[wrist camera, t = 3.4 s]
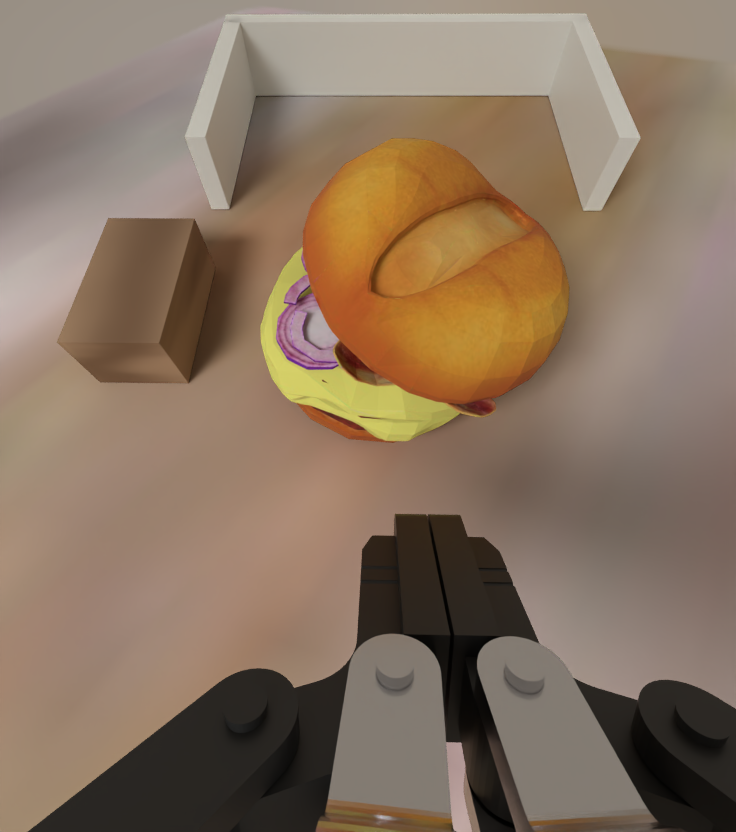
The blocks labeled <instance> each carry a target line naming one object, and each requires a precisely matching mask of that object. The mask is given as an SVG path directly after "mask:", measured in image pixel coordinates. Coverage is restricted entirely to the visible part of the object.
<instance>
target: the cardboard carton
mask: <svg viewBox="0 0 736 832" xmlns="http://www.w3.org/2000/svg"><path fill="white" fill-rule="evenodd" d="M214 272H215V266H214V263H213V261H212V259H211V256H210V254H209V252H208V249H207V247H206V245H205V242H204V240H203V238H202V235H201V233H200V231H199V228H198V226H197V224H196V221H195V219H150V218H108V220H107V223H106V225H105V227H104V230H103V232H102V235H101V237H100V240H99V242H98V244H97V247H96V249H95V252H94V254H93V256H92V259H91V261H90V264H89V266H88V269H87V271H86V273H85V276H84V278H83V281H82V283H81V286H80V288H79V290H78V293H77V295H76V298H75V300H74V302H73V305H72V307H71V310H70V312H69V315H68V317H67V319H66V322H65V324H64V327H63V329H62V331H61V334H60V336H59V339H58V341H57V343H58V344H59V345H60V346H62V347H63V348H64V349H65V350H66V351H67V352H68V353H69V354H70V355H71V356H72V357H74V358H75V359H76V360H77V361H78V362H79V363H80V364H81V365H82V366H83V367H84V368H85V369H87V370H88V371H89V372H90V373H91V374H92V375H93V376H94V377H95V378H96V379H97V380H98V381H100V382H130V383H189V378H190V374H191V370H192V366H193V361H194V357H195V353H196V349H197V344H198V340H199V336H200V332H201V327H202V323H203V319H204V315H205V310H206V306H207V302H208V298H209V293H210V289H211V285H212V281H213V276H214Z"/></svg>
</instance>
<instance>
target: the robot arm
mask: <svg viewBox="0 0 736 832" xmlns="http://www.w3.org/2000/svg"><path fill="white" fill-rule="evenodd" d="M446 742H461V743H462V748H463V754H464V760H465V765H466V767H465V776H464V797H465V802H466V806H467V811H468V815H469V820H470V824H471V828H472V832H736V709H735V708H733V707H732V706H730V705H728V704H727V703H725V702H723V701H722V700H720V699H719V698H717V697H715V696H713V695H712V694H710V693H708V692H706V691H704V690H702V689H700V688H698V687H695V686H692V685H689V684H687V683H683V682H679V681H673V680H658V681H653V682H651V683H649V684H647V685H646V686H645V687H644V688H643V689H642V690H641V692H640V695H639V698H638V700H635V699H632V698H628V697H625V696H622V695H618V694H615V693H612V692H608V691H605V690H602V689H598V688H595V687H592V686H590V685H587V684H585V683H583V682H580V681H578V680H576V679H575V678H573V677H572V675H571V673H570V672H569V670H568V668H567V667H566V665H565V664H564V663H563V662H562V661H561V659H560V658H559V657H558V656H556V655H555V654H554V653H553V652H552V651H550V650H549V649H547V648H546V647H544V646H542V645H541V644H539V641H538V639H537V637H536V635H535V632H534V630H533V628H532V625H531V623H530V621H529V618H528V616H527V614H526V612H525V609H524V607H523V605H522V602H521V600H520V598H519V596H518V593H517V591H516V589H515V586H513V582H512V579H511V577H510V575H509V573H508V572H507V568H506V566H505V563H504V561H503V559H502V556H501V554H500V552H499V551H498V550H497V549H496V548H495V547H494V546H493V545H492V544H491V543H490V542H488V541H487V540H486V539H485V538H484V537H468V536H467V533H466V531H465V528H464V525H463V522H462V519H461V516H460V515H432V514H428V516H426V515H425V514H395V518H394V536H372V537H371V538H370V539H369V541H368V542H367V544H366V545H365V546H364V548H363V549H362V565H361V583H360V599H359V616H358V634H357V644H356V648H355V651H354V653H353V655H352V656H351V658H350V660H349V661H348V662H347V663H346V665H344V666H343V667H342V668H341V669H340V670H339V671H337V672H336V673H335V674H333V675H331V676H329V677H327V678H326V679H323V680H320V681H317V682H314V683H310V684H307V685H303V686H300V687H296V688H294V687H293V686H292V684H291V682H290V681H289V680H288V679H287V678H286V677H284V676H283V675H281V674H280V673H278V672H275V671H273V670H268V669H260V668H257V669H248V670H244V671H240V672H238V673H235V674H233V675H231V676H229V677H227V678H225V679H224V680H222V681H221V682H219V683H218V684H216V685H215V686H214V687H213V688H211V689H210V690H209V691H208V692H206V693H205V694H204V695H202V696H201V697H200V698H199V699H197V700H196V701H195V702H193V703H192V704H191V705H190V706H188V707H187V708H186V709H184V710H183V711H182V712H181V713H179V714H178V715H177V716H176V717H174V718H173V719H172V720H170V721H169V722H168V723H167V724H165V725H164V726H163V727H161V728H160V729H159V730H158V731H156V732H155V733H154V734H152V735H151V736H150V737H149V738H147V739H146V740H145V741H143V742H142V743H141V744H140V745H138V746H137V747H136V748H135V749H133V750H132V751H131V752H129V753H128V754H127V755H126V756H124V757H123V758H122V759H120V760H119V761H118V762H117V763H115V764H114V765H113V766H111V767H110V768H109V769H108V770H106V771H105V772H104V773H102V774H101V775H100V776H99V777H97V778H96V779H95V780H94V781H92V782H91V783H90V784H88V785H87V786H86V787H85V788H83V789H82V790H81V791H79V792H78V793H77V794H76V795H74V796H73V797H72V798H70V799H69V800H68V801H67V802H65V803H64V804H63V805H61V806H60V807H59V808H58V809H56V810H55V811H54V812H53V813H51V814H50V815H49V816H47V817H46V818H45V819H44V820H42V821H41V822H40V823H38V824H37V825H36V826H35V827H33V828H32V829H31V830H29V831H28V832H456V831H454V830H453V825H452V817H451V805H450V791H449V777H448V763H447V749H446Z"/></svg>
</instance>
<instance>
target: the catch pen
mask: <svg viewBox="0 0 736 832" xmlns="http://www.w3.org/2000/svg"><path fill="white" fill-rule="evenodd" d="M256 96H549V100H550V103H551V106H552V110H553V113H554V116H555V119H556V123H557V126H558V129H559V133H560V136H561V139H562V143H563V146H564V149H565V152H566V156H567V159H568V162H569V166H570V169H571V172H572V175H573V179H574V182H575V185H576V189H577V192H578V195H579V198H580V202H581V205H582V208H583V211H601V210H602V208H603V206H604V204H605V203H606V201H607V199H608V197H609V195H610V193H611V192H612V190H613V188H614V186H615V184H616V182H617V181H618V179H619V177H620V175H621V173H622V171H623V169H624V168H625V166H626V164H627V162H628V160H629V158H630V157H631V155H632V153H633V151H634V149H635V147H636V146H637V144H638V142H639V140H640V138H641V137H640V135H639V133H638V131H637V128H636V126H635V124H634V122H633V119H632V117H631V115H630V112H629V110H628V108H627V106H626V103H625V101H624V99H623V97H622V94H621V92H620V90H619V87H618V85H617V83H616V81H615V78H614V76H613V74H612V72H611V69H610V67H609V65H608V62H607V60H606V58H605V56H604V53H603V51H602V49H601V47H600V44H599V42H598V40H597V38H596V35H595V33H594V31H593V29H592V26H591V24H590V22H589V19H588V17H587V15H586V14H226V17H225V20H224V23H223V26H222V29H221V32H220V35H219V38H218V40H217V43H216V46H215V49H214V52H213V55H212V58H211V61H210V64H209V67H208V70H207V73H206V76H205V79H204V82H203V85H202V87H201V90H200V93H199V96H198V99H197V102H196V105H195V108H194V111H193V114H192V117H191V120H190V123H189V126H188V129H187V131H186V134H185V140H186V142H187V145H188V148H189V150H190V153H191V156H192V158H193V161H194V164H195V166H196V169H197V171H198V174H199V177H200V179H201V182H202V185H203V187H204V190H205V193H206V195H207V198H208V201H209V203H210V206H211V209H229V208H230V204H231V200H232V195H233V191H234V187H235V183H236V178H237V174H238V170H239V166H240V161H241V157H242V153H243V149H244V144H245V140H246V136H247V132H248V127H249V123H250V119H251V115H252V110H253V106H254V102H255V98H256Z"/></svg>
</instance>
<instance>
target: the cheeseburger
mask: <svg viewBox="0 0 736 832" xmlns="http://www.w3.org/2000/svg"><path fill="white" fill-rule="evenodd" d="M568 301H569V284H568V279H567V275H566V271H565V267H564V265H563V262H562V259H561V256H560V254H559V251H558V250H557V248H556V246H555V244H554V242H553V241H552V239H551V237H550V235H549V234H548V233H547V232H546V231H545V229H544V228H543V227H542V226H541V225H540V224H539V223H538V222H537V221H535V220H534V219H533V218H531V217H530V216H528V215H527V214H525V213H524V212H523V211H522V210H521V209H520V208H519V207H518V206H517V205H516V204H514V203H513V202H512V201H510V200H509V199H508V198H506V197H505V196H503V195H502V194H500V193H499V192H497V191H496V190H495V189H494V188H493V187H492V185H491V184H490V183H489V182H488V181H487V180H486V179H485V178H484V177H483V175H482V174H481V173H480V172H479V171H478V170H477V169H476V167H475V166H474V165H473V164H472V163H471V162H470V161H469V160H467V159H466V158H465V157H464V156H462V155H461V154H460V153H458V152H457V151H456V150H453V149H451V148H448V147H446V146H444V145H441V144H439V143H436V142H434V141H429V140H422V139H415V138H392V139H390V140H388V141H386V142H384V143H382V144H381V145H379V146H377V147H375V148H373V149H371V150H370V151H368V152H366V153H364V154H362V155H360V156H359V157H357V158H355V159H353V160H351V161H349V162H348V163H346V164H345V165H344V166H343V167H342V168H341V169H340V170H339V171H338V172H337V173H336V174H335V176H334V177H333V178H332V179H331V180H330V181H329V182H328V183H327V185H326V186H325V187H324V189H323V190H322V191H321V193H320V194H319V195H318V197H317V198H316V199H315V201H314V202H313V203H312V205H311V207H310V210H309V213H308V216H307V220H306V223H305V227H304V230H303V247H302V248H301V249H300V250H298V251H297V252H296V253H295V254H294V256H293V257H292V258H291V259H290V261H289V262H288V263H287V264H286V266H285V267H284V268H283V270H282V272H281V274H280V276H279V278H278V280H277V282H276V284H275V286H274V289H273V292H272V293H271V295H270V297H269V300H268V303H267V306H266V309H265V312H264V318H263V320H262V323H261V326H260V328H261V344H262V348H263V352H264V356H265V359H266V362H267V365H268V368H269V371H270V374H271V377H272V379H273V381H274V382H275V384H276V385H277V386H278V388H279V389H280V391H281V392H282V393H283V394H284V395H285V396H286V397H287V398H288V399H289V400H290V401H292V402H295V403H297V404H298V405H299V407H300V408H301V409H302V410H303V411H304V412H305V413H306V414H307V415H308V416H309V418H310V419H312V420H314V421H316V422H317V423H319V424H321V425H323V426H325V427H327V428H329V429H331V430H333V431H335V432H337V433H339V434H341V435H343V436H344V437H346V438H348V439H356V440H368V441H379V442H391V443H393V442H396V441H409V440H411V439H413V438H415V437H416V436H419V435H421V434H424V433H426V432H429V431H431V430H433V429H435V428H437V427H439V426H442V425H443V424H445V423H447V422H448V421H450V420H451V419H453V418H455V417H456V416H457V415H459V414H460V413H461V414H465V415H469V416H474V417H486V416H488V415H490V414H492V413H493V412H495V411H496V404H495V402H494V401H493V400H492V399H491V398H496V397H499V396H501V395H503V394H505V393H506V392H508V391H510V390H511V389H513V388H515V387H517V386H518V385H520V384H522V383H524V382H525V381H527V380H529V379H530V378H531V377H532V376H533V375H534V373H535V372H536V371H537V370H538V369H539V368H540V367H541V365H542V364H543V363H544V362H545V361H546V359H547V358H548V356H549V355H550V353H551V352H552V350H553V349H554V347H555V346H556V344H557V343H558V341H559V340H560V336H561V333H562V330H563V327H564V323H565V320H566V317H567V313H568Z"/></svg>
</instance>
